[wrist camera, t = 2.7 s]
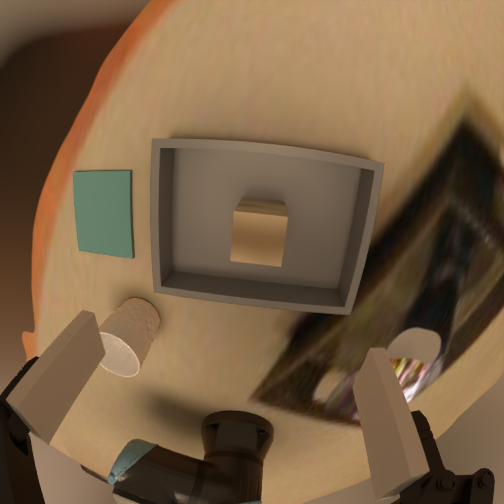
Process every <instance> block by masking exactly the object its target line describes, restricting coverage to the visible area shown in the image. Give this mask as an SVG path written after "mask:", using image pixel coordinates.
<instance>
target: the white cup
mask: <svg viewBox="0 0 504 504" xmlns="http://www.w3.org/2000/svg"><path fill="white" fill-rule="evenodd" d="M159 325H160V318H159V315H158V312H157V311H156V309H155V308H154V307H153V306H152V305H151V304H150V303H148V302H147V301H145V300H143V299H139V298H131V299H128V300H126V301H125V302H124V303H123V304H122V305H121V306H120V307H119V308H118V309H117V310H115V311H114V312H113V313H112V314H111V315H110V316H109V317H108V318H107V319H106V320H105V321H104V323H103V324H102V325H101V326H100V327H99V328H98V329H99V332H100V336H101V339H102V343H103V346H104V349H105V352H106V354H105V356H104V357H103V359H102V360H101V362H100V364H101V365H102V366H103V367H104V368H105V369H107V370H108V371H110V372H112V373H114V374H116V375H118V376H122V377H133V376H135V375H137V374H138V372H139V371H140V368H141V366H142V364H143V362H144V360H145V358H146V356H147V353H148V351H149V349H150V347H151V345H152V342H153V340H154V338H155V335H156V333H157V331H158V329H159Z"/></svg>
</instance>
